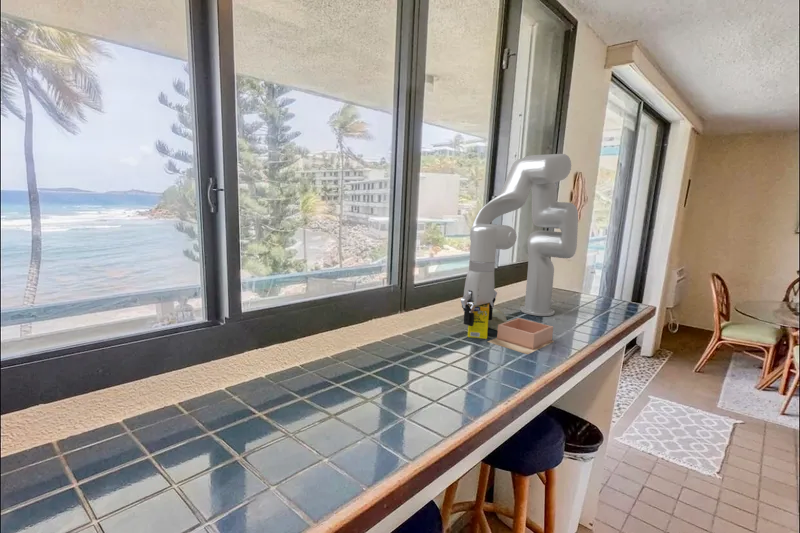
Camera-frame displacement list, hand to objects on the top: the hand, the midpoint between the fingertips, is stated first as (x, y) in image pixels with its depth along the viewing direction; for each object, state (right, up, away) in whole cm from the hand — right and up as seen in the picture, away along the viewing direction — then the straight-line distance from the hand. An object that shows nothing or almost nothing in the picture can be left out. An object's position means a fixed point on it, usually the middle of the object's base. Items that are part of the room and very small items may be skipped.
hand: (477, 322), depth 124 cm
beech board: (+12, -6, -4) cm, 14 cm away
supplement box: (0, -5, +1) cm, 6 cm away
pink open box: (+13, -5, -3) cm, 15 cm away
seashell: (+6, -4, +10) cm, 12 cm away
